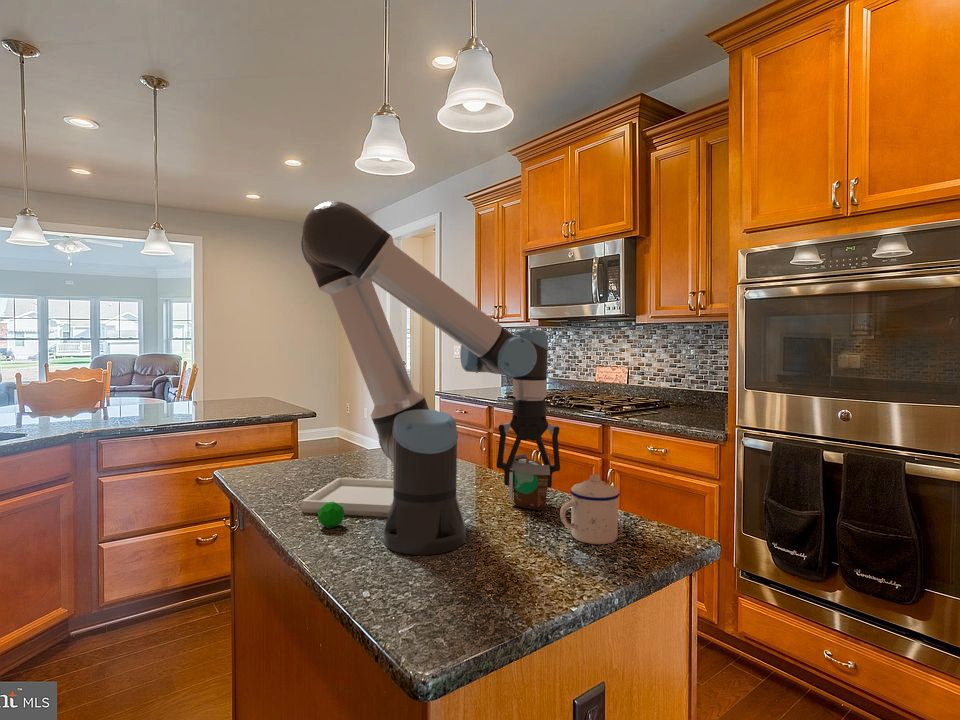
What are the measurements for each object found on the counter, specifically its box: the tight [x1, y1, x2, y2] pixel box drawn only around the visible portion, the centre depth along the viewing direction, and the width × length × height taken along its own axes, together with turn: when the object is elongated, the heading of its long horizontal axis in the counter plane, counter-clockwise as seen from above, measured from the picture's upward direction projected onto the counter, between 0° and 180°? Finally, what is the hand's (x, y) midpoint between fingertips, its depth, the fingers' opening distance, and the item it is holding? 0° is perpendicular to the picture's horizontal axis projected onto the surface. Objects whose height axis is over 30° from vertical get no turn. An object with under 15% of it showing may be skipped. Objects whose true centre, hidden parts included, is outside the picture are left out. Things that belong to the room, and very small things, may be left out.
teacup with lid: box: [559, 474, 620, 545], centre depth 101 cm, size 12×9×12 cm
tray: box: [301, 477, 393, 518], centre depth 123 cm, size 20×20×2 cm
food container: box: [510, 453, 550, 511], centre depth 120 cm, size 12×6×10 cm, turn 21°
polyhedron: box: [317, 502, 345, 529], centre depth 106 cm, size 5×5×5 cm
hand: (527, 500), depth 121 cm, fingers closed on food container, 7 cm apart
